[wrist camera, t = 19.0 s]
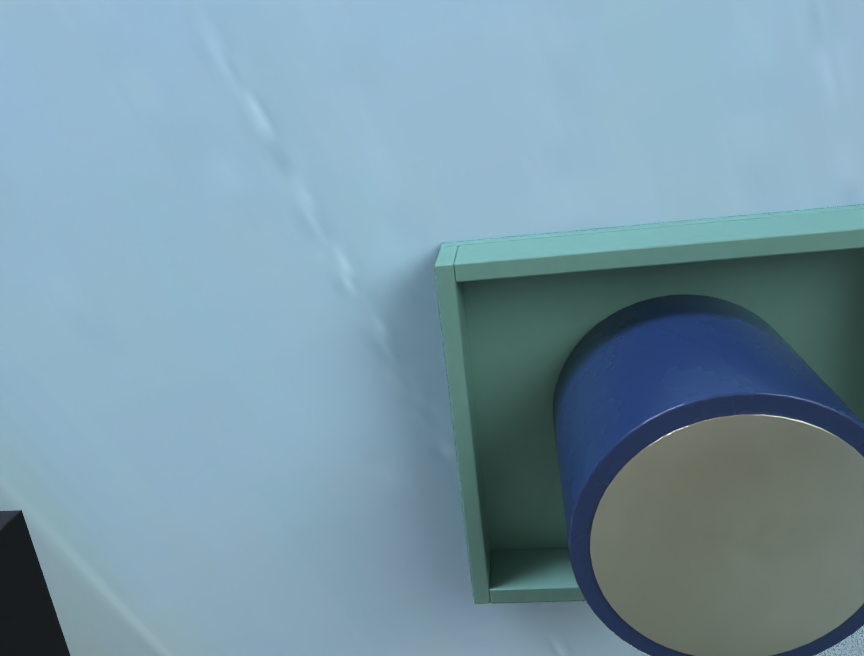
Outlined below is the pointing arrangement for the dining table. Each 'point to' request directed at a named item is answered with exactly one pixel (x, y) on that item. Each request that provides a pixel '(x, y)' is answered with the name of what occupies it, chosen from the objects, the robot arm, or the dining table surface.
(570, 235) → the tray
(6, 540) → the robot arm
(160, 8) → the dining table surface
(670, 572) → the pot
